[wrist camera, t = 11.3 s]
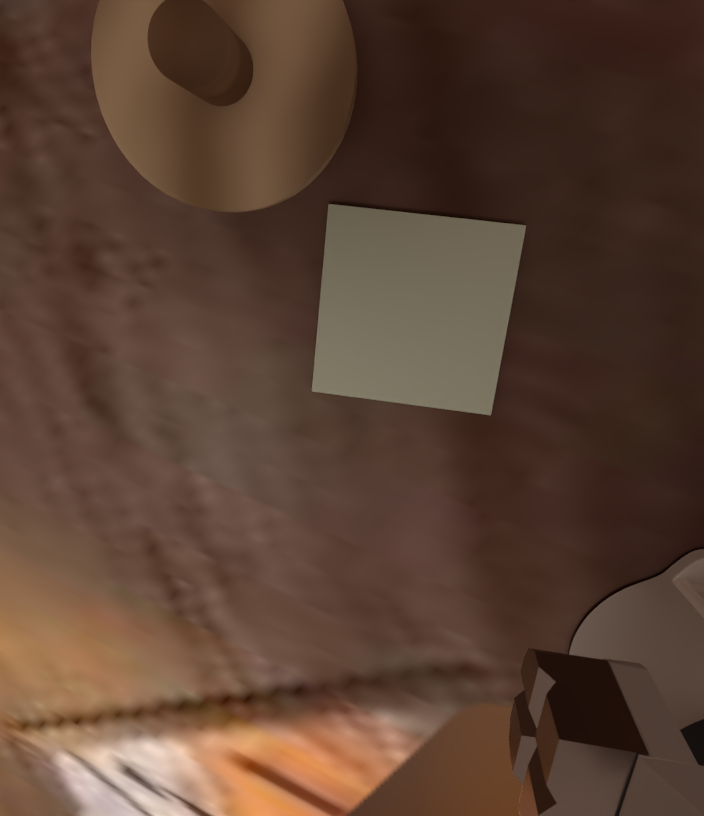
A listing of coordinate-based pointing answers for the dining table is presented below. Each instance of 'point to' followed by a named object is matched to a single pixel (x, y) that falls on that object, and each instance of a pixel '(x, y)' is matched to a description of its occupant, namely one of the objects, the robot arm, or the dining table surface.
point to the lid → (226, 94)
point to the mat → (414, 307)
